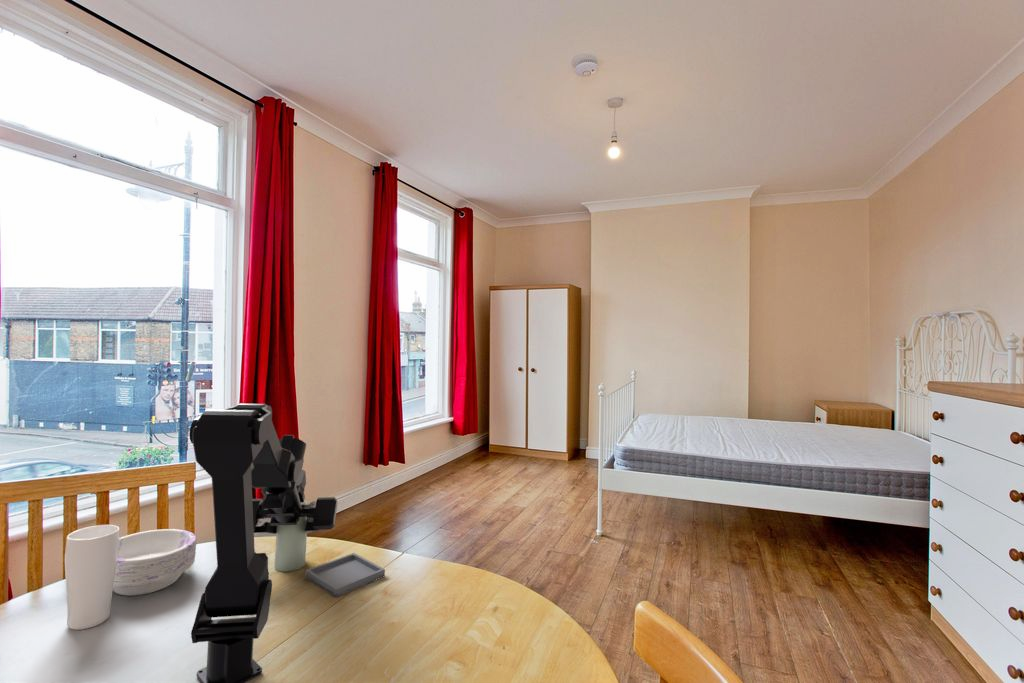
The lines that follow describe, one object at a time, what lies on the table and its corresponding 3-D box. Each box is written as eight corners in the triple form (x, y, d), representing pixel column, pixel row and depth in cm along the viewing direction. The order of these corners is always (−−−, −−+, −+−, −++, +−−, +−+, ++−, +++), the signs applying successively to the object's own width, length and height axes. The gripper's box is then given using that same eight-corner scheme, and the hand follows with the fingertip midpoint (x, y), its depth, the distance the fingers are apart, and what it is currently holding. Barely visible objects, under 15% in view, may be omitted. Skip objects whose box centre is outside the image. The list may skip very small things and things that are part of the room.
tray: (384, 576, 98) (384, 569, 98) (335, 597, 89) (336, 589, 89) (353, 559, 105) (353, 552, 105) (305, 577, 96) (305, 570, 96)
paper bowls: (210, 577, 94) (212, 538, 94) (119, 614, 81) (122, 568, 81) (169, 558, 102) (171, 521, 102) (79, 589, 88) (81, 546, 88)
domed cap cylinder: (310, 564, 102) (313, 503, 102) (282, 574, 97) (286, 510, 97) (296, 555, 105) (299, 497, 106) (269, 565, 101) (272, 503, 101)
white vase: (82, 637, 74) (88, 542, 75) (49, 630, 76) (54, 537, 76) (125, 614, 81) (130, 526, 81) (94, 607, 82) (99, 522, 83)
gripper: (338, 460, 100) (343, 496, 110) (241, 461, 96) (256, 497, 106) (330, 511, 92) (336, 543, 102) (224, 513, 88) (242, 547, 99)
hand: (293, 531), depth 103 cm, fingers closed on domed cap cylinder, 6 cm apart
